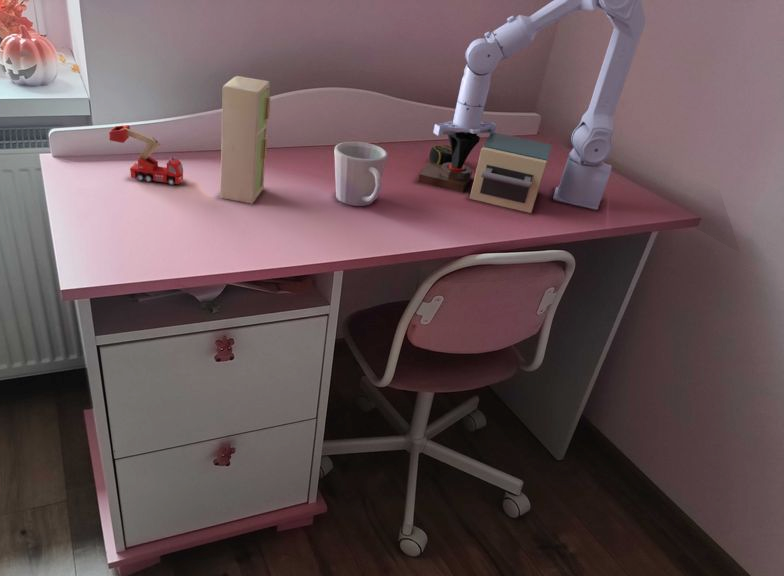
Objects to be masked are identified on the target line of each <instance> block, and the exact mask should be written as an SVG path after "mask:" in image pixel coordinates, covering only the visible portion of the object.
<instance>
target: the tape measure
mask: <svg viewBox="0 0 784 576" xmlns="http://www.w3.org/2000/svg"><path fill="white" fill-rule="evenodd" d="M428 157H429V162H431V163H435V164H440V165H442V164H443V163H448V162H451V163H452V152H451V146H449V145H447V144H444V145H440V144H439V145H434V146H432V147H431V150H430V151H429V155H428Z"/></svg>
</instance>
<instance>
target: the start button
mask: <svg viewBox="0 0 784 576" xmlns="http://www.w3.org/2000/svg"><path fill="white" fill-rule="evenodd" d="M448 169H450V170H453V171H459V172H462V171H465V167H464V166H462V168H455V167H454V166H452V164H449V166H448Z"/></svg>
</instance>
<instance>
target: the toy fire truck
mask: <svg viewBox="0 0 784 576" xmlns="http://www.w3.org/2000/svg"><path fill="white" fill-rule="evenodd" d="M108 135H109V138H108V139H109V141H110V142H111V141H112V142H116V143H121V144H125V142H126V141H127V140H128V139H129V138H130V137H131V138H133V139H136V140H138V141H141V142H142V143H143V142H144V143H145V146H144V148H143V149H142V151H141V152H140V154H139V155H138V157H137V163H136V162H135V163H134V164H133V165H132V166H130V167H129V172H130V178H131V179H136V180H137V181H139V182H142V181H144V180H145V181H146V182H147V183H151V182H152V181H153V182H158V183H164V184H165V183H167V184H168V185H170V186H174V185H179V184H181V183H183V181H184V167H183V164H182V161H180V160H179V159H178V158H174V157H170V158H169V160H168V161H167V162H166V166H159V161H158V160H157V159H155V158H152V156H151V155H152V154H153V153H154V152H155V151H156V150H157V149H158V148H159V147H160V146H161V143H160V142H159V141H158V140H157V139H156V138H155V137H150V136H147V135H145V134H142V133H140V132H137V131H135V130H132V129H131V127H130V125H116V126H113V128H111V130H109V131H108ZM150 156H151V157H150Z"/></svg>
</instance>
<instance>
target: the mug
mask: <svg viewBox="0 0 784 576" xmlns="http://www.w3.org/2000/svg"><path fill="white" fill-rule="evenodd" d="M333 150H334V175H335V177H334V178H335V197H336V199H337V200H338V201H339V202H341V203H343V204H345V205H348V206H354V207H364V206H369V205H371V204H372V203H374V201H375V200H377V198H378V197H379V196H380V193H381V189H382V175H383V172H384V169H385V165H386V163H387V160H388V152H387V150H385V149H384V148H382V147H381V146H379V145H376V144H373V143H369V142H363V141H345V142H341V143H338V144H336V145H335V146H334V149H333Z"/></svg>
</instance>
